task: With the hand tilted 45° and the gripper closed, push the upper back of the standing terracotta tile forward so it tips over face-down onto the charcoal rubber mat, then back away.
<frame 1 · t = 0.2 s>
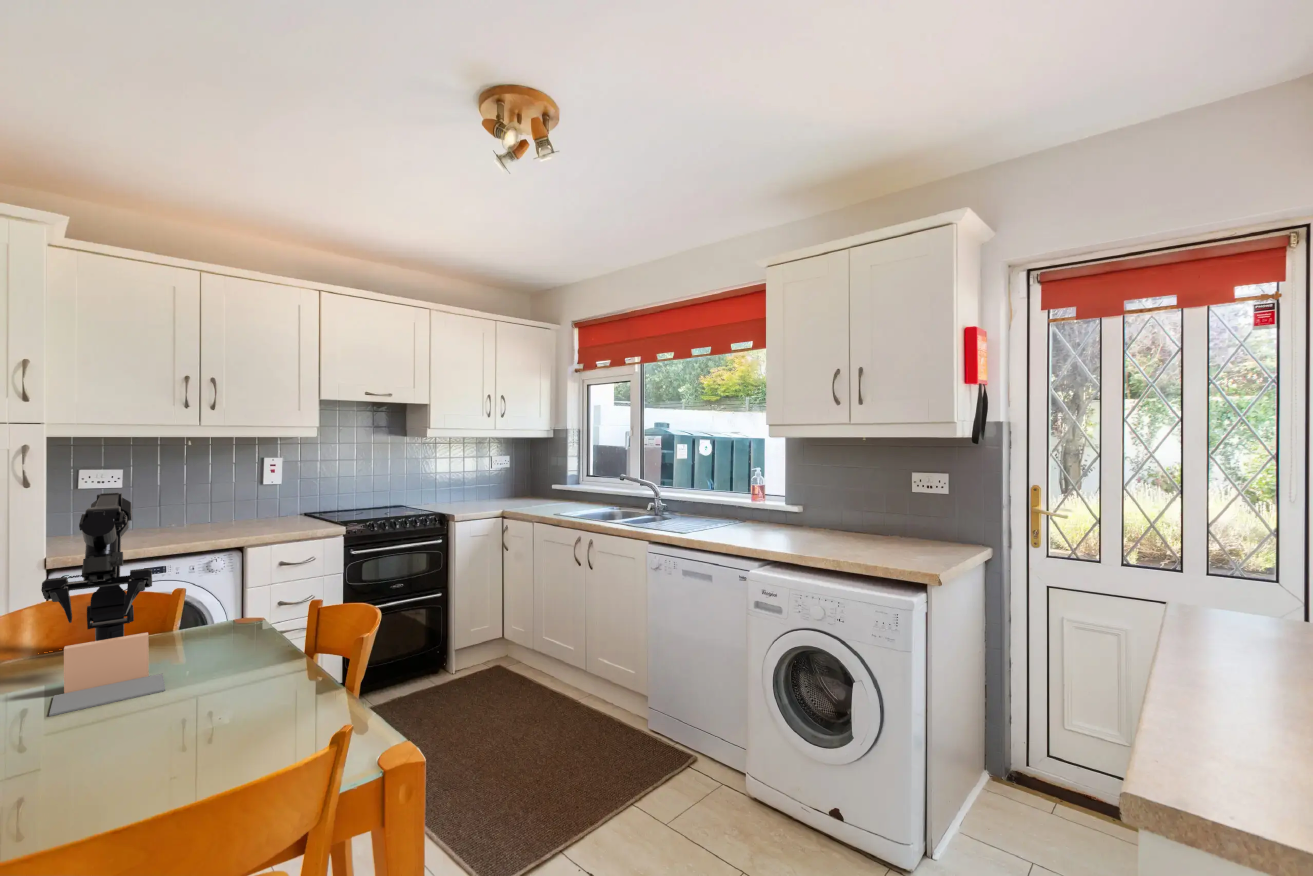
hand: (98, 618, 138), 14 cm above the table, tool tilted 35°, fingers open, 9 cm apart
terracotta tile: (107, 684, 136), on the table
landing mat: (110, 694, 131), on the table
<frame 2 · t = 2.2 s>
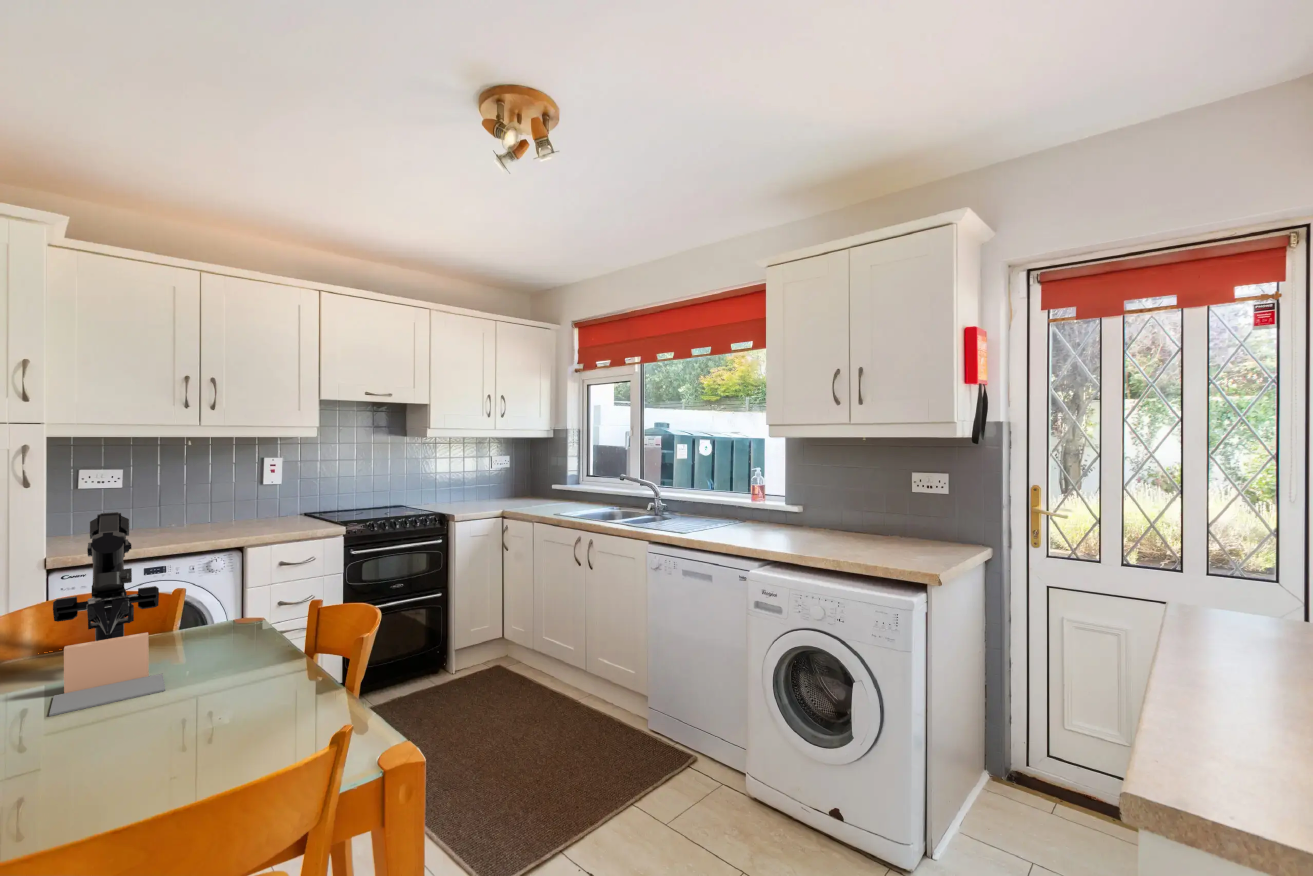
hand: (108, 633, 141), 10 cm above the table, tool tilted 45°, fingers closed
nothing on the table moved.
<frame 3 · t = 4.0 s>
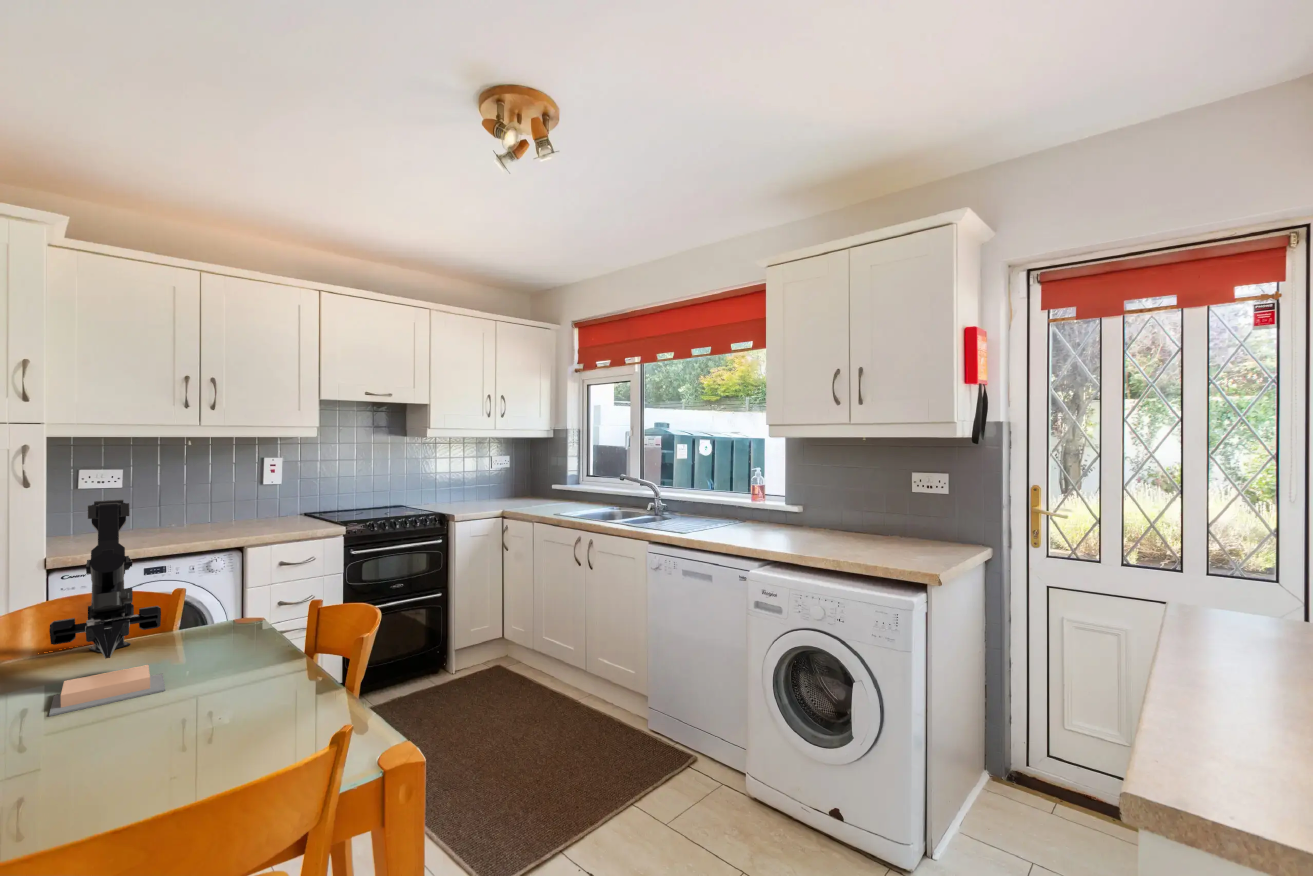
hand: (107, 657, 134), 7 cm above the table, tool tilted 45°, fingers closed
terracotta tile: (107, 678, 136), point 2 cm above the table, tilted 90°, touching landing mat
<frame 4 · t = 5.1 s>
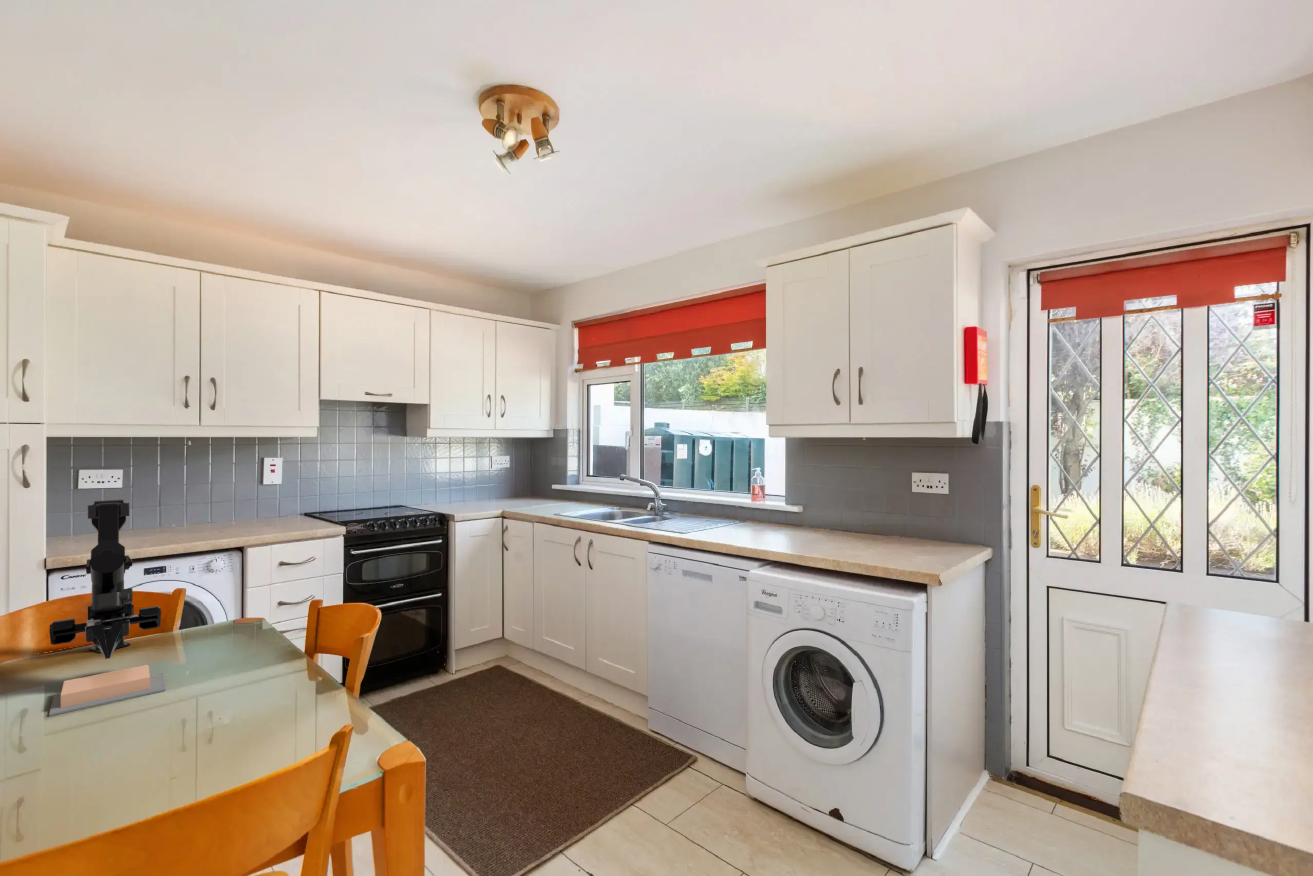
hand: (107, 657, 134), 7 cm above the table, tool tilted 45°, fingers closed
nothing on the table moved.
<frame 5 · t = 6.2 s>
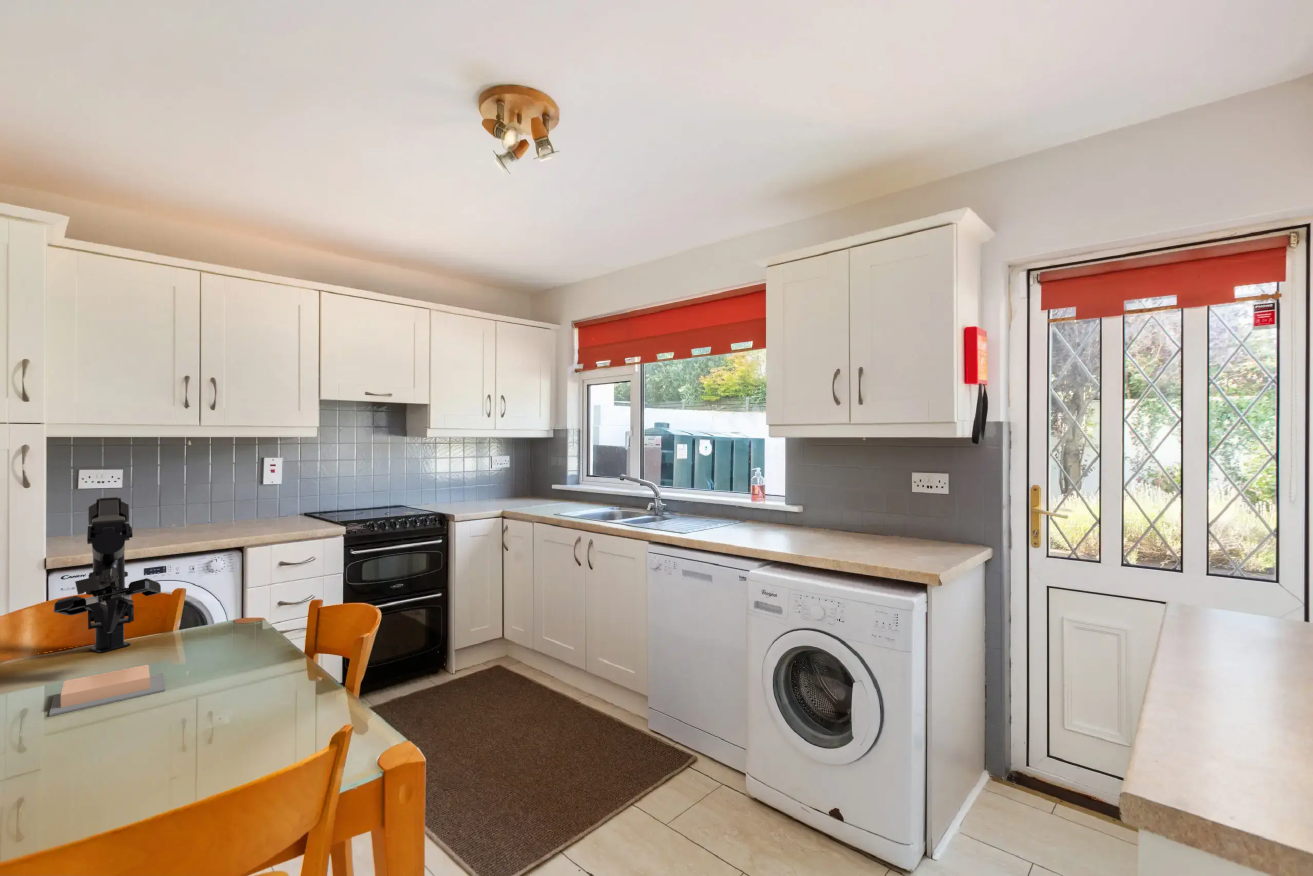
hand: (109, 632, 141), 10 cm above the table, tool tilted 30°, fingers closed
nothing on the table moved.
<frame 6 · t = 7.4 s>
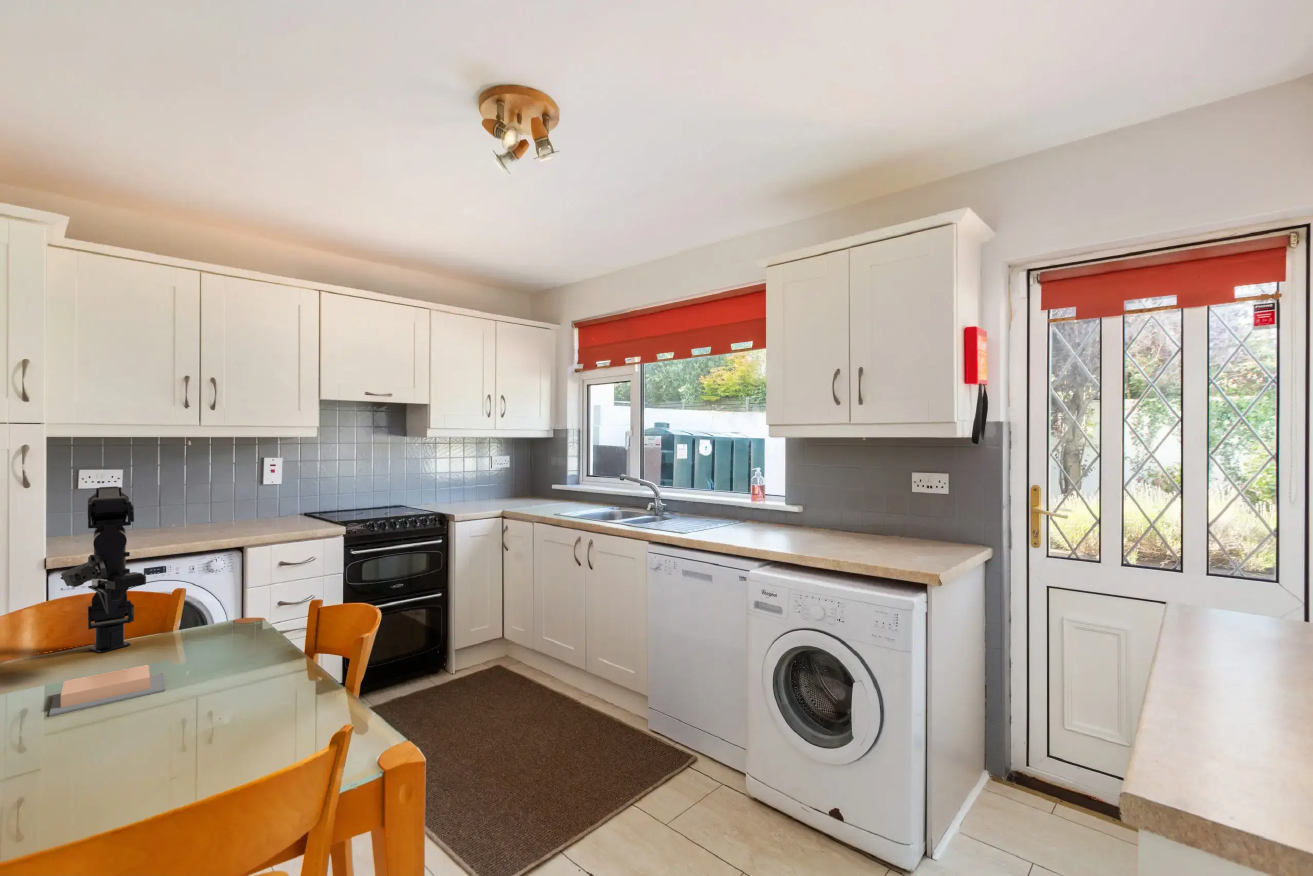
hand: (110, 613, 146), 13 cm above the table, tool pointing down, fingers closed
nothing on the table moved.
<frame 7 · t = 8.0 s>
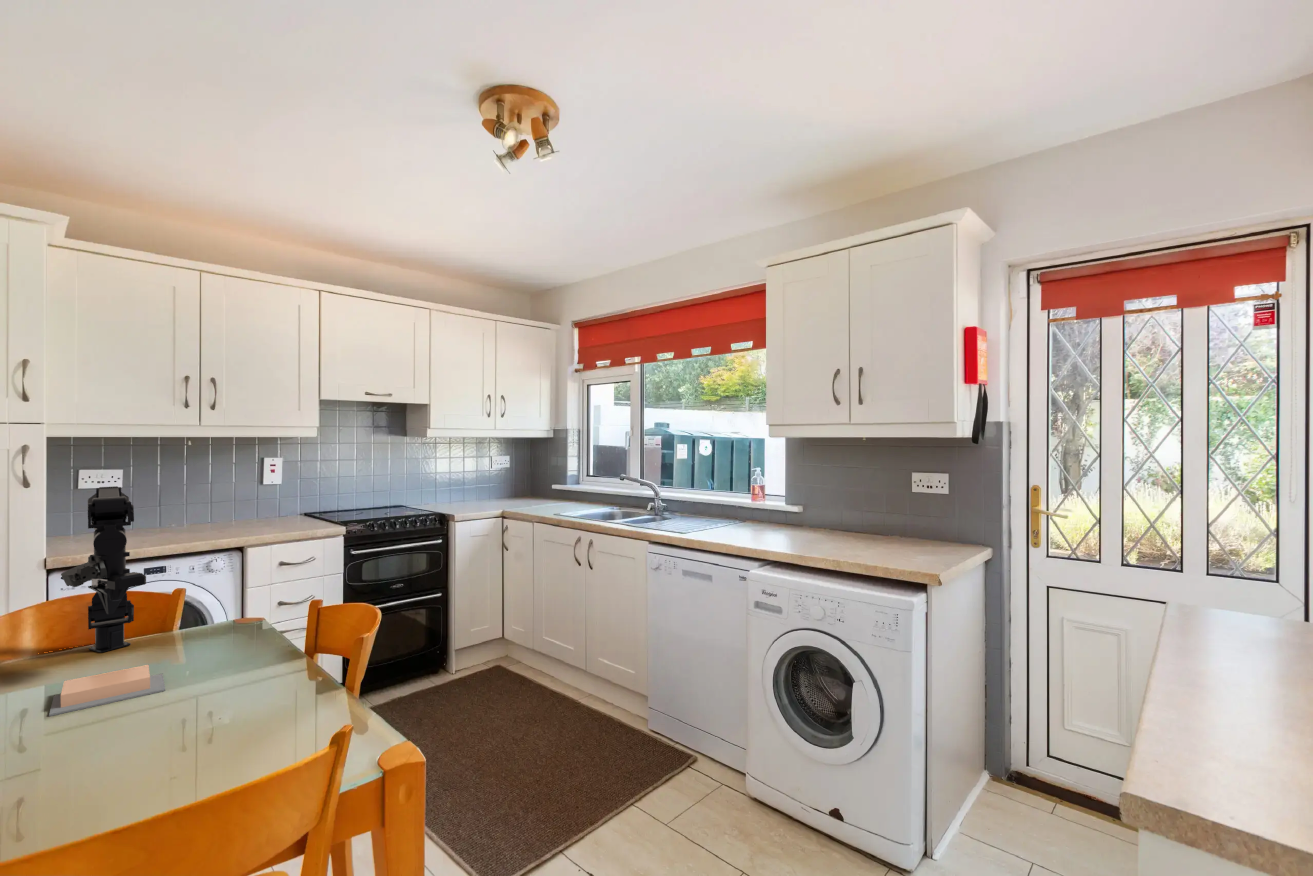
hand: (110, 613, 146), 13 cm above the table, tool pointing down, fingers closed
nothing on the table moved.
at the end: terracotta tile tilted 90°; terracotta tile inside the target area (2.3 cm from its centre), point 1.6 cm above the table; the gripper is holding nothing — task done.
